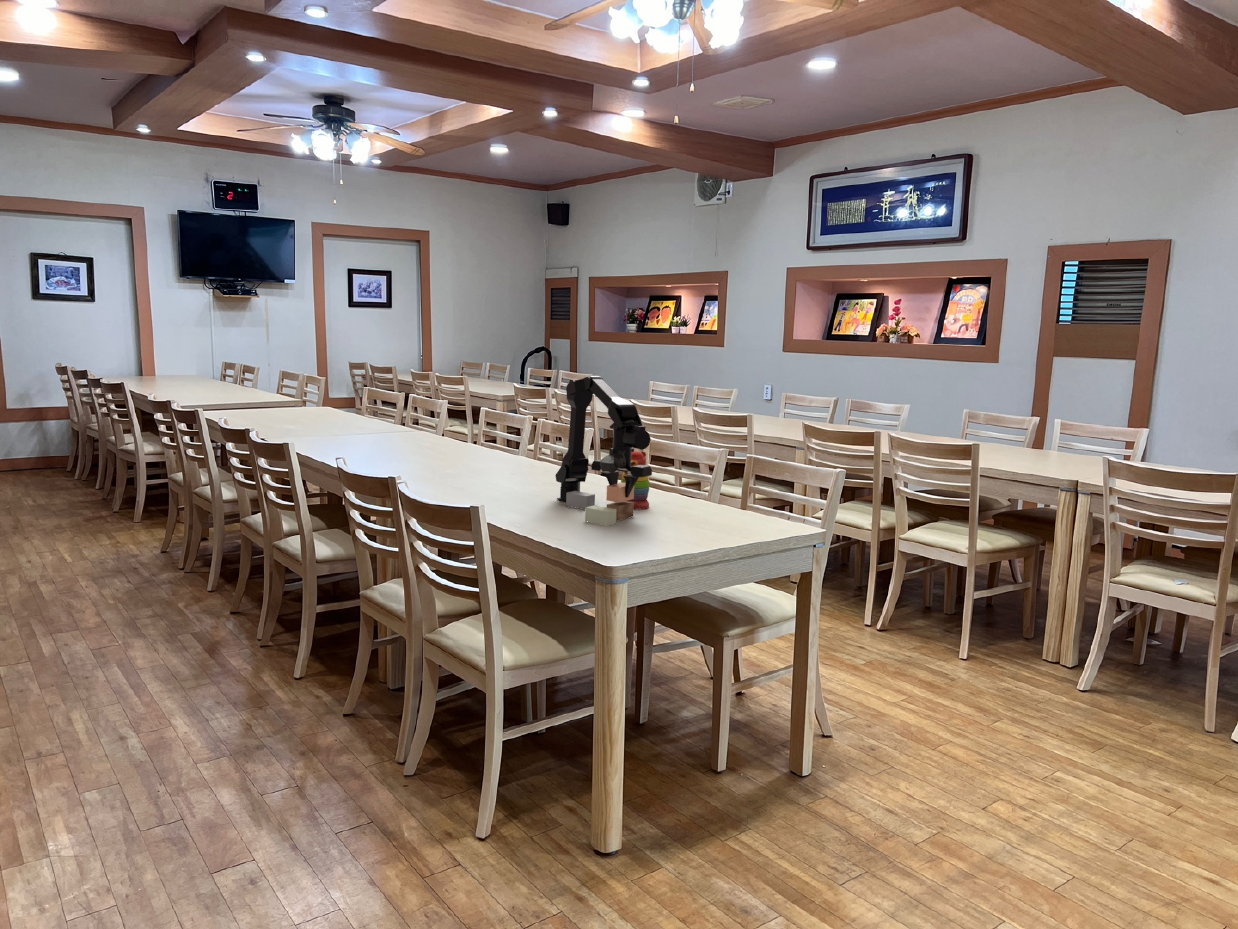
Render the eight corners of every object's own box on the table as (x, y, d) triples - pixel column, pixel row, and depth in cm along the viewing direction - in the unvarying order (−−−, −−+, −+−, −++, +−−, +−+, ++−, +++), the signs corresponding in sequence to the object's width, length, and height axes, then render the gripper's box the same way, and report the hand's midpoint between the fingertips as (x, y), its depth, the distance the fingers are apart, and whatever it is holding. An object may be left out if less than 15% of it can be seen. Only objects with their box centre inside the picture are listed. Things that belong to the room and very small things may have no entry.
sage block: (584, 522, 258) (585, 507, 257) (594, 520, 261) (594, 505, 261) (606, 526, 253) (607, 511, 252) (615, 524, 257) (616, 509, 256)
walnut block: (621, 514, 270) (621, 500, 269) (633, 517, 267) (633, 502, 267) (606, 518, 263) (606, 504, 263) (618, 521, 261) (618, 506, 260)
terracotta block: (621, 496, 269) (622, 482, 268) (633, 498, 266) (634, 484, 266) (606, 500, 263) (606, 485, 262) (618, 502, 260) (619, 487, 259)
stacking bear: (613, 506, 281) (615, 451, 278) (622, 501, 290) (624, 448, 287) (645, 510, 278) (648, 454, 275) (653, 504, 287) (656, 450, 284)
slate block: (566, 506, 279) (566, 492, 279) (574, 504, 283) (575, 490, 282) (586, 510, 275) (586, 496, 274) (594, 508, 278) (595, 494, 278)
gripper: (581, 444, 261) (579, 495, 263) (632, 451, 250) (630, 504, 253) (603, 440, 270) (601, 490, 272) (654, 447, 259) (651, 499, 262)
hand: (620, 496), depth 264 cm, fingers closed on terracotta block, 4 cm apart
